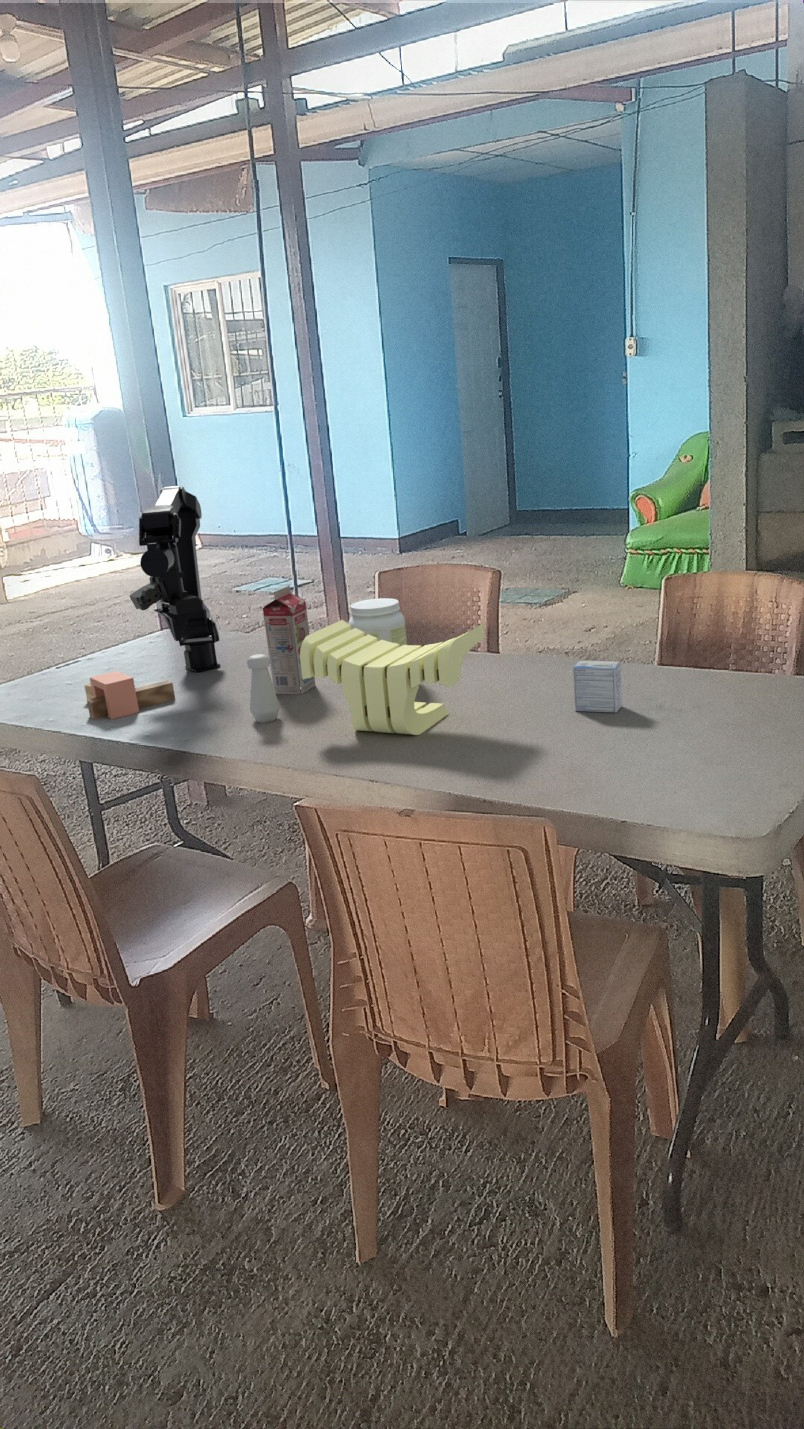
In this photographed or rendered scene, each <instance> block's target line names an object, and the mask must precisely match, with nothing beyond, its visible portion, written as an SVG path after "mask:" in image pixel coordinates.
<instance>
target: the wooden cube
mask: <svg viewBox="0 0 804 1429" xmlns="http://www.w3.org/2000/svg"><path fill="white" fill-rule="evenodd" d="M84 690H85V691H84V692H85V696H86V701H87V700H88V699H92V698H93V693H92V688H91V682H90V683H88V684H84Z"/></svg>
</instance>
